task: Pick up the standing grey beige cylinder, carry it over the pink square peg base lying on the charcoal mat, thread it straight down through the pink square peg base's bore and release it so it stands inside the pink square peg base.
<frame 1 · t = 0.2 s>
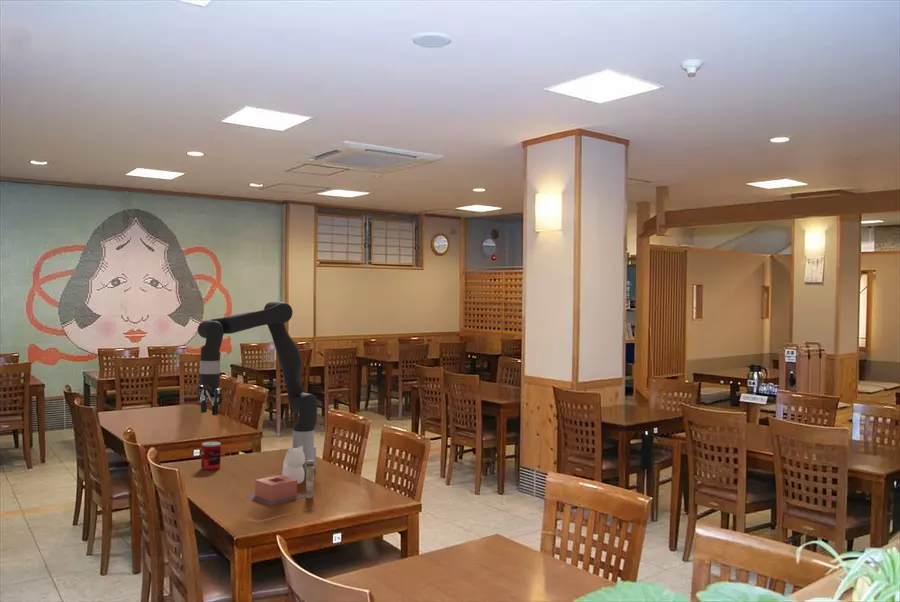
hand: (209, 413, 270), 29 cm above the table, fingers open, 8 cm apart
cat figurine: (291, 483, 281), on the table
pink square peg base: (276, 495, 261), resting on mat
mat: (275, 497, 261), on the table
canned food: (210, 469, 302), on the table
grey beige cylinder: (309, 498, 260), on the table
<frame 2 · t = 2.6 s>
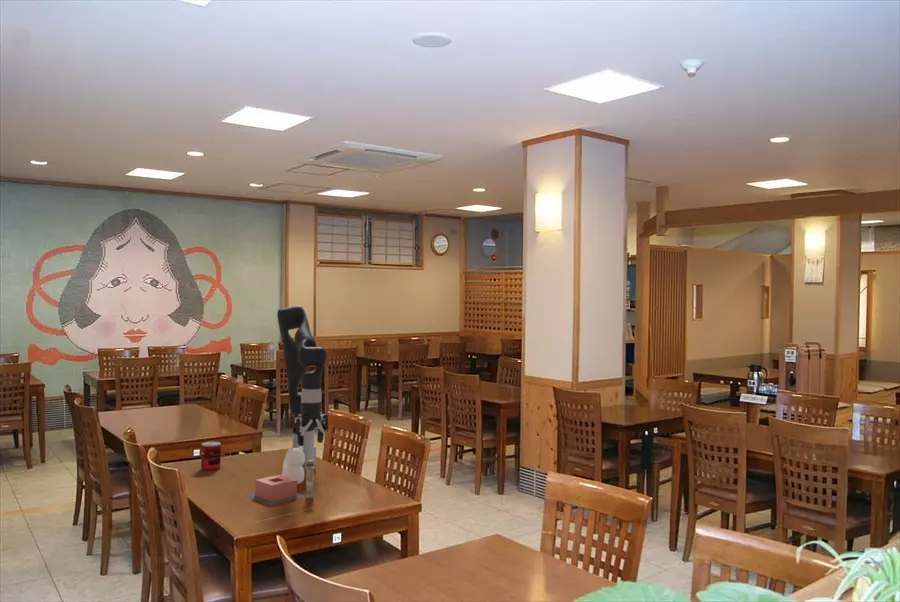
hand: (310, 443, 260), 20 cm above the table, fingers open, 8 cm apart
nothing on the table moved.
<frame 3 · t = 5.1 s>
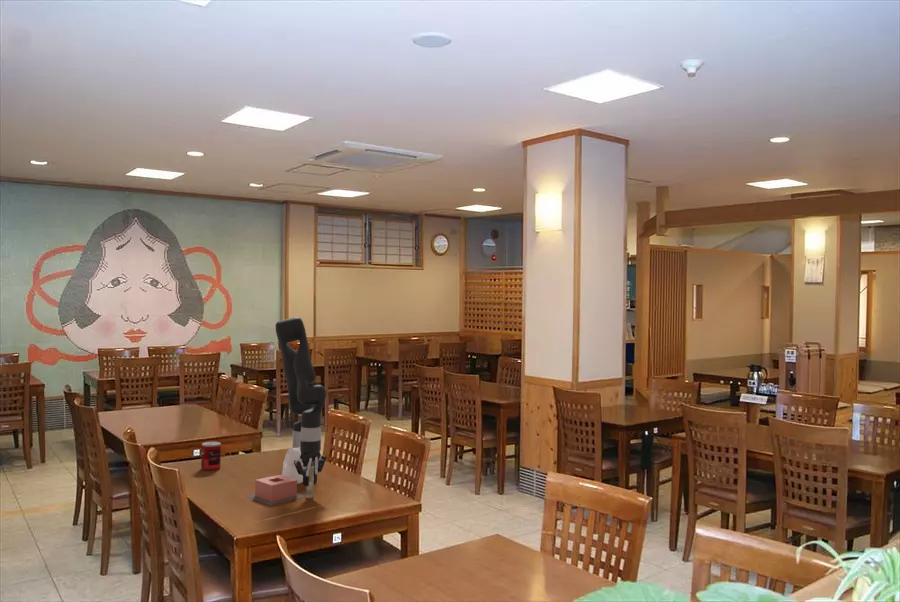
hand: (309, 484, 260), 5 cm above the table, fingers closed on grey beige cylinder, 2 cm apart
grey beige cylinder: (309, 498, 260), on the table, touching gripper
everything else where it was.
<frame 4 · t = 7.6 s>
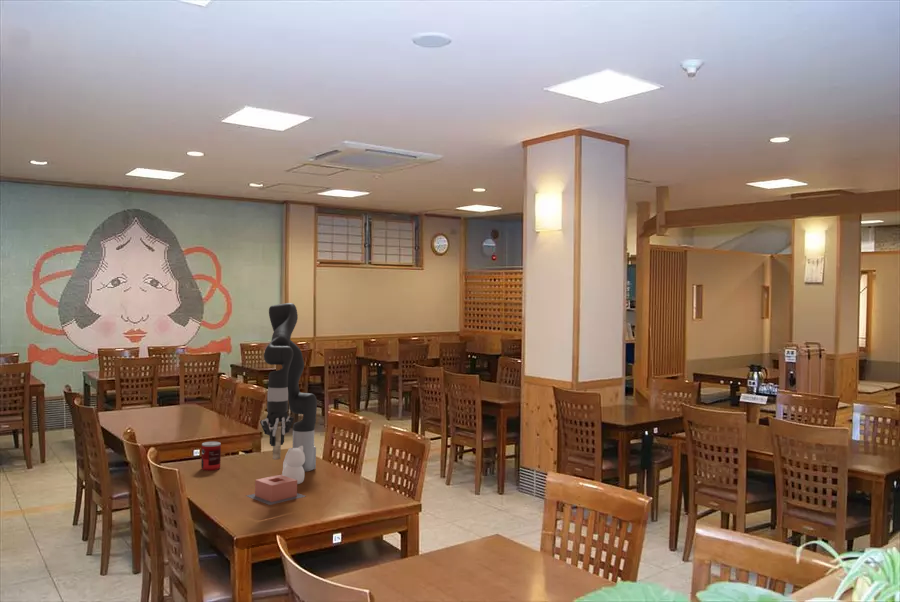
hand: (276, 445, 261), 19 cm above the table, fingers closed on grey beige cylinder, 2 cm apart
grey beige cylinder: (276, 458, 261), point 14 cm above the table, touching gripper
everything else where it was.
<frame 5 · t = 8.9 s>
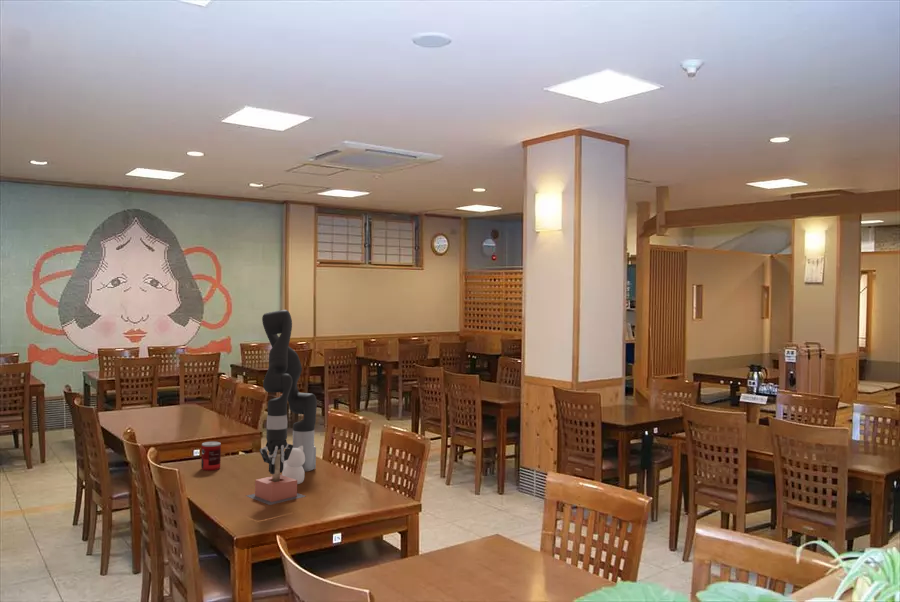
hand: (275, 472, 261), 9 cm above the table, fingers closed on grey beige cylinder, 2 cm apart
grey beige cylinder: (275, 486, 261), point 4 cm above the table, touching gripper
everything else where it was.
when the fingers open (7 cm above the table, at t = 10.2 s): grey beige cylinder drops 2 cm, resting on mat.
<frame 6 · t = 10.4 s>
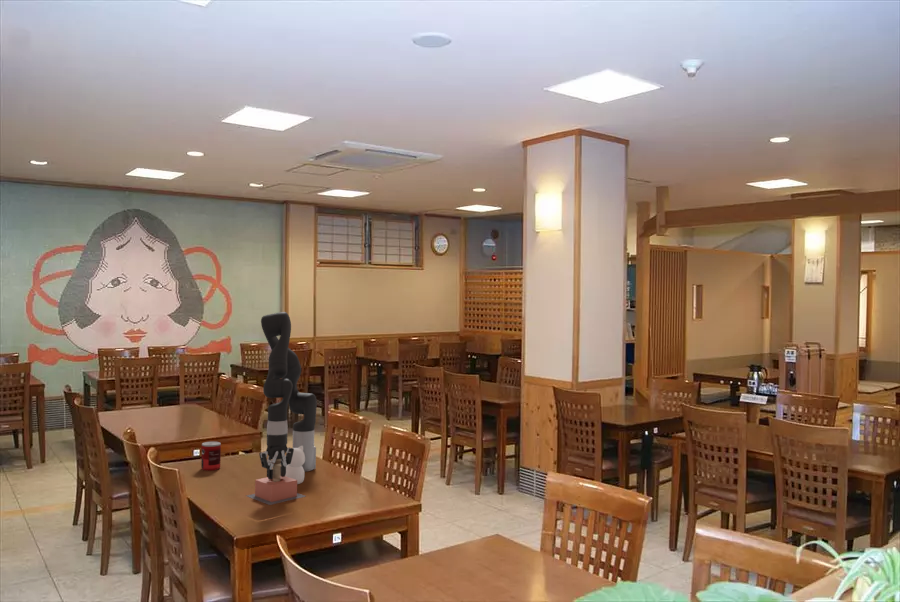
hand: (276, 477, 261), 7 cm above the table, fingers open, 4 cm apart
grey beige cylinder: (276, 495, 261), resting on mat
everything else where it was.
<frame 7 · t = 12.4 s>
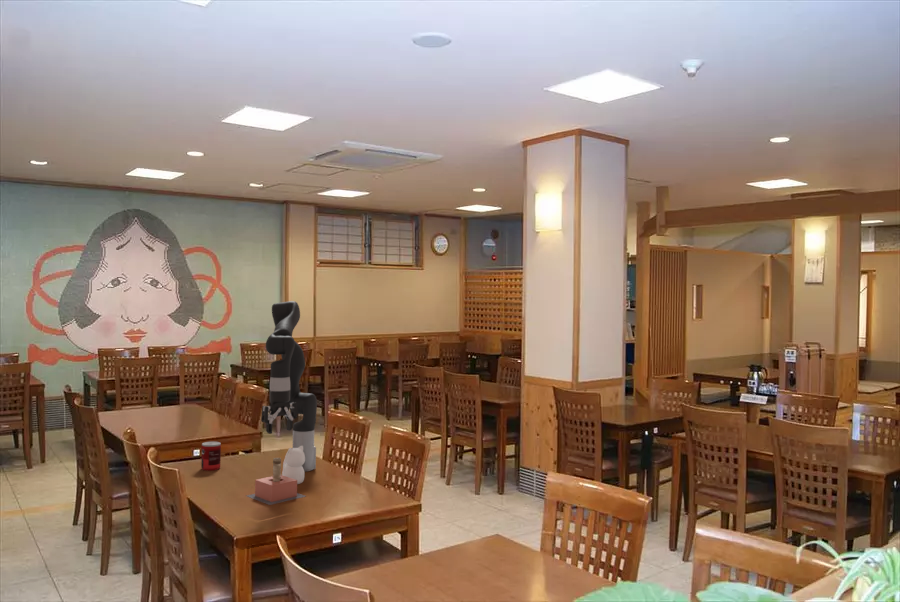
hand: (279, 431, 262), 24 cm above the table, fingers open, 8 cm apart
nothing on the table moved.
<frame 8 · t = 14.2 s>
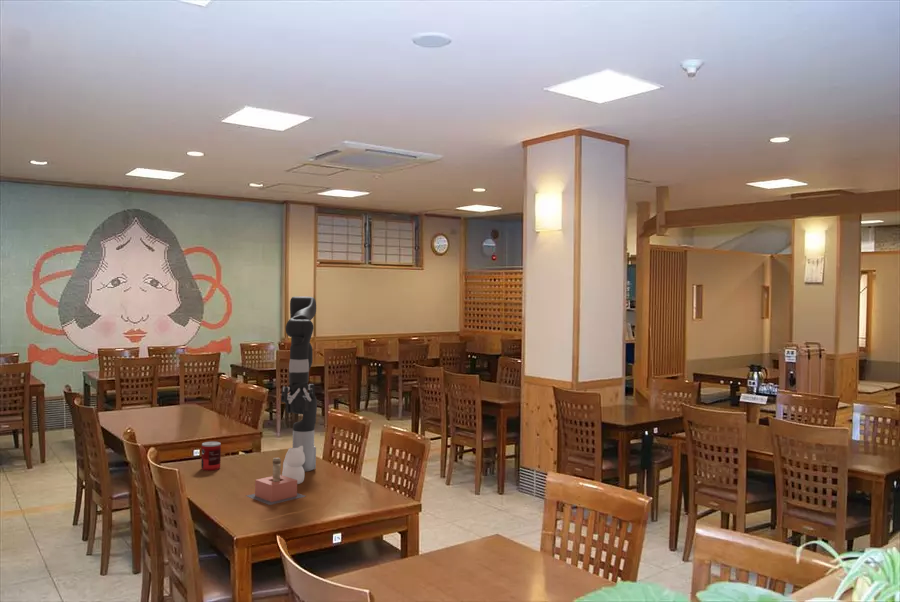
hand: (298, 412, 272), 30 cm above the table, fingers open, 8 cm apart
nothing on the table moved.
at the end: grey beige cylinder 0.1 cm off-centre on the pink square peg base, point 0.0 cm above the pink square peg base's base; grey beige cylinder tilted 0°; the gripper is holding nothing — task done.
